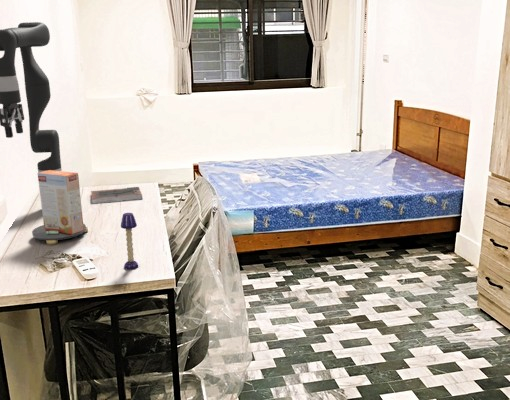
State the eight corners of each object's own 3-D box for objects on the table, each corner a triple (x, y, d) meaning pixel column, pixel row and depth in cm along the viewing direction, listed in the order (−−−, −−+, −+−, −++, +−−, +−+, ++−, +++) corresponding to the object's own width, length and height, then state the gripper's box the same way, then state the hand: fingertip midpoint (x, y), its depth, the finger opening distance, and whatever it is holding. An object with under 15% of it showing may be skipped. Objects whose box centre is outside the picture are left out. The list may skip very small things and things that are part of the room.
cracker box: (85, 230, 192) (79, 172, 186) (71, 235, 187) (65, 175, 181) (57, 225, 198) (50, 168, 193) (43, 230, 193) (36, 172, 188)
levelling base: (44, 229, 204) (42, 218, 203) (92, 227, 204) (91, 217, 203) (24, 246, 185) (22, 234, 184) (77, 244, 186) (75, 233, 185)
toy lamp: (125, 264, 167) (120, 211, 163) (140, 263, 168) (136, 211, 163) (123, 270, 163) (118, 216, 159) (138, 269, 163) (134, 215, 159)
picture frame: (138, 191, 259) (91, 195, 253) (138, 186, 259) (91, 190, 252) (142, 200, 244) (92, 204, 238) (142, 194, 243) (91, 199, 237)
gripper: (9, 91, 184) (16, 138, 189) (26, 87, 197) (33, 131, 202) (-13, 91, 184) (-5, 139, 189) (5, 87, 198) (13, 132, 202)
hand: (14, 135), depth 196 cm, fingers open, 8 cm apart
